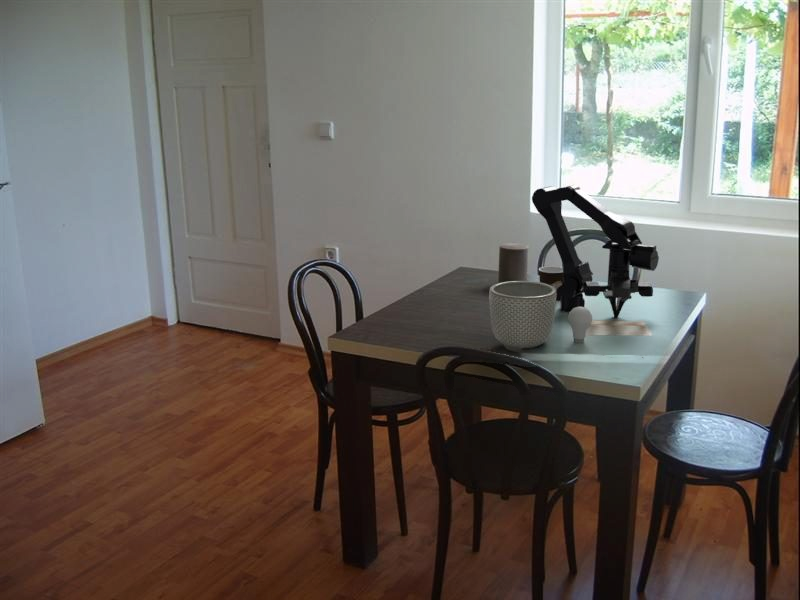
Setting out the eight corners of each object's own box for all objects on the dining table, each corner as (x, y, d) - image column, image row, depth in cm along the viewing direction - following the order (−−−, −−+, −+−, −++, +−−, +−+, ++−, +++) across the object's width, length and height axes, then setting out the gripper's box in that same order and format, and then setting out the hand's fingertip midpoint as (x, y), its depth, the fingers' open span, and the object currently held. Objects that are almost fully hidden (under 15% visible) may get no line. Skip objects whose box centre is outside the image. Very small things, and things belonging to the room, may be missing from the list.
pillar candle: (499, 289, 274) (500, 245, 269) (497, 281, 283) (498, 239, 279) (528, 289, 273) (530, 245, 269) (525, 282, 283) (527, 239, 278)
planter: (485, 356, 210) (486, 296, 206) (490, 335, 226) (491, 279, 222) (554, 360, 207) (556, 298, 203) (554, 338, 223) (556, 281, 219)
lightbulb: (569, 342, 220) (570, 302, 217) (592, 344, 218) (594, 304, 215) (564, 349, 215) (566, 309, 212) (588, 352, 212) (590, 311, 209)
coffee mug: (537, 303, 256) (538, 272, 254) (537, 296, 265) (538, 266, 262) (575, 304, 254) (576, 273, 252) (574, 297, 263) (576, 267, 260)
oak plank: (572, 329, 231) (572, 324, 230) (569, 319, 240) (569, 315, 239) (645, 330, 229) (645, 325, 229) (639, 320, 238) (639, 316, 237)
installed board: (576, 339, 222) (576, 334, 222) (572, 329, 231) (572, 324, 230) (652, 341, 220) (652, 335, 220) (645, 330, 229) (646, 325, 228)
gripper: (589, 272, 225) (586, 326, 230) (658, 273, 223) (654, 327, 228) (584, 262, 235) (581, 313, 240) (650, 262, 234) (646, 314, 239)
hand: (615, 317), depth 237 cm, fingers closed, pressing on oak plank
